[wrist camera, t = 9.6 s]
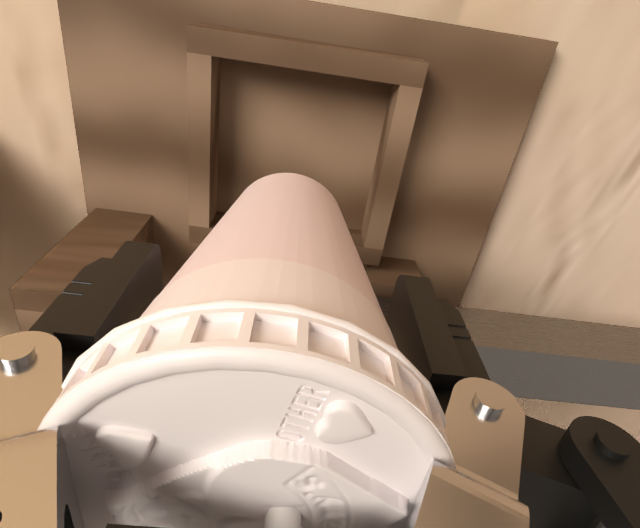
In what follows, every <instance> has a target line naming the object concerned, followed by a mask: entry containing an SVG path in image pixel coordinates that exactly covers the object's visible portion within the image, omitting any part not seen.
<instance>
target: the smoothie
mask: <svg viewBox="0 0 640 528" xmlns="http://www.w3.org/2000/svg"><path fill="white" fill-rule="evenodd" d="M61 387H62V390H63V391H62V392H61V394H60V395H59V397H58V398H57V400H56V401H55V403H54V404H53V406H52V407H51V408H50V410H49V411H48V412H47V414H46V415H45V417H44V418H43V420H42V422H41V424H40V425H39V427H38V429H37V430H42V429H46V428H50V427H54V426H58V425H59V426H60V430H61V433H62V436H63V438H64V440H65V445H66V449H67V453H68V457H69V463H70V469H71V474H72V478H73V482H74V487H75V491H76V495H77V499H78V503H79V507H80V511H81V512H82V516H83V520H84V524H85V528H106V526H107V523H108V524H121V525H134V526H148V527H161V528H403V527H404V524H405V522H406V520H407V518H408V515H409V513H410V511H411V509H412V506H413V504H414V502H415V499H416V497H417V494H418V492H419V489H420V487H421V485H422V482H423V480H424V478H425V476H426V473H427V471H428V469H429V467H430V465H431V463H432V461H433V459H435V460H437V461H439V462H441V463H443V464H445V465H447V466H449V467H451V468H453V469H456V466H455V461H454V458H453V455H452V452H451V449H450V446H449V443H448V439H447V436H446V432H445V428H444V426H445V425H446V417H445V414H444V412H443V410H442V408H441V406H440V403H439V401H438V399H437V397H436V395H435V392H434V390H433V388H432V386H431V384H430V382H429V381H428V380H427V379H426V378H425V377H424V376H423V375H422V374H421V373H420V372H419V370H418V369H417V368H416V367H415V366H414V365H413V364H412V363H411V362H410V361H409V360H408V359H407V358H406V357H405V356H404V355H403V354H402V353H401V352H400V351H399V350H398V348H397V345H396V343H395V340H394V338H393V335H392V333H391V330H390V328H389V326H388V324H387V322H386V320H385V317H384V315H383V313H382V310H381V308H380V305H379V303H378V300H377V298H376V296H375V293H374V291H373V288H372V286H371V283H370V281H369V279H368V276H367V274H366V271H365V269H364V266H363V264H362V262H361V259H360V257H359V254H358V252H357V249H356V247H355V245H354V242H353V240H352V237H351V235H350V232H349V230H348V228H347V225H346V223H345V220H344V218H343V215H342V213H341V210H340V208H339V206H338V203H337V202H336V200H335V198H334V197H333V195H332V194H331V193H330V192H329V191H328V190H327V189H326V188H325V187H324V186H323V185H322V184H320V183H319V182H317V181H315V180H314V179H312V178H309V177H307V176H304V175H300V174H296V173H276V174H271V175H268V176H265V177H262V178H260V179H258V180H257V181H255V182H253V183H252V184H251V185H250V186H248V187H247V188H246V189H245V190H244V192H243V193H242V194H241V195H240V196H239V198H238V199H237V200H236V201H235V203H234V204H233V205H232V206H231V207H230V209H229V210H228V211H227V212H226V214H225V215H224V216H223V217H222V218H221V220H220V221H219V222H218V223H217V224H216V226H215V227H214V228H213V229H212V231H211V232H210V233H209V234H208V235H207V237H206V238H205V239H204V240H203V242H202V243H201V244H200V245H199V246H198V248H197V249H196V250H195V251H194V253H193V254H192V255H191V256H190V257H189V259H188V260H187V261H186V262H185V263H184V265H183V266H182V267H181V268H180V270H179V271H178V272H177V273H176V274H175V276H174V277H173V278H172V279H171V281H170V282H169V283H168V284H167V285H166V287H165V288H164V289H163V290H162V291H161V293H160V294H159V295H158V296H157V297H156V298H155V299H154V300H153V301H152V303H151V304H150V305H149V306H148V308H147V309H146V310H145V311H144V313H143V314H142V315H141V317H140V318H138V319H136V320H133V321H131V322H128V323H126V324H123V325H121V326H118V327H116V328H114V329H113V330H111V331H110V332H109V333H108V334H106V335H105V336H104V337H103V338H101V339H100V340H99V341H98V342H96V343H95V344H94V345H93V346H91V347H90V348H89V349H88V350H86V351H85V352H84V353H83V354H82V355H80V356H79V357H78V358H77V359H76V361H75V363H74V364H73V366H72V368H71V370H70V371H69V373H68V375H67V377H66V378H65V380H64V382H63V384H62V386H61Z"/></svg>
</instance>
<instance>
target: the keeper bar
mask: <svg viewBox="0 0 640 528" xmlns="http://www.w3.org/2000/svg"><path fill="white" fill-rule="evenodd" d="M376 298H377V300H378V303H379V305H380V308H381V310H382V313H383V315H384V317H385V320H386V316H387V313H388V309H389V305H390V302H391V299H387V298H378V297H376ZM454 307H455V306H454ZM455 308H456V309H457V310H458V311H459V312H460V314H461V316H462V318H463V320H464V322H465V325H466V329H468V331H469V333H470V336H471V341H473V342H474V345H475V347H476V349H477V351H478V353H479V356H480V358H481V360H482V362H483V365H484V367H485V369H486V371H487V373H488V376H489V378H490V380H491V381H492V382H494V383H497V384H499V385H500V386H502V387H504V388H505V389H506V390H508V391H509V392H510V393H511V394H512V395H514V396H515V397H521V398H530V399H540V400H550V401H559V402H569V403H579V404H588V405H598V406H608V407H617V408H627V409H637V410H640V328H633V327H625V326H616V325H608V324H599V323H591V322H582V321H574V320H565V319H557V318H548V317H540V316H531V315H523V314H514V313H506V312H497V311H489V310H480V309H472V308H463V307H455Z"/></svg>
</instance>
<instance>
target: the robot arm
mask: <svg viewBox="0 0 640 528" xmlns="http://www.w3.org/2000/svg"><path fill="white" fill-rule="evenodd" d="M162 290H163V284H162V263H161V250H160V246H159V245H158V244H152V243H144V242H136V241H126V242H125V243H124V244H123V245H122V246H121V247H120V249H119V250H118V251H117V252H116V254H115V255H114V256H113V257H112V258H103V257H102V258H100V259H98V260H96V261H94V262H92V263H91V264H89V265H87V266H85V267H83V268H82V270H81V271H80V272H79V273H78V274H77V275H76V276H75V278H74V279H73V280H72V283H69V284H68V286H67V287H66V288H65V289H64V290H63V293H62V294H60V295H59V296H58V297H57V298H56V299H55V300H54V302H53V303H52V304H51V305H50V306H49V307H48V308H47V309H46V311H45V312H44V313H43V314H42V315H41V316H40V317H39V319H38V320H37V321H36V322H35V323H34V324H33V325H32V327H31V328H30V329H29V330H28V331H23V332H17V333H12V334H9V335H5V336H2V337H0V528H85V524H84V520H83V516H82V512H81V511H80V507H79V503H78V499H77V495H76V491H75V487H74V482H73V478H72V474H71V469H70V463H69V457H68V453H67V449H66V445H65V440H64V438H63V436H62V433H61V430H60V426H59V425H58V426H54V427H50V428H46V429H42V430H37V429H38V427H39V425H40V424H41V422H42V420H43V418H44V417H45V415H46V414H47V412H48V411H49V410H50V408H51V407H52V406H53V404H54V403H55V401H56V400H57V398H58V397H59V395H60V394H61V392H62V391H63V390H62V387H61V386H62V384H63V382H64V380H65V378H66V377H67V375H68V373H69V371H70V370H71V368H72V366H73V364H74V363H75V361H76V359H77V358H78V357H79V356H80V355H82V354H83V353H84V352H85V351H86V350H88V349H89V348H90V347H91V346H93V345H94V344H95V343H96V342H98V341H99V340H100V339H101V338H103V337H104V336H105V335H106V334H108V333H109V332H110V331H111V330H113V329H114V328H116V327H118V326H121V325H123V324H126V323H128V322H131V321H133V320H136V319H138V318H140V317H141V315H142V314H143V313H144V311H145V310H146V309H147V308H148V306H149V305H150V304H151V303H152V301H153V300H154V299H155V298H156V297H157V296H158V295H159V294H160V293H161V291H162ZM386 322H387V324H388V326H389V328H390V330H391V333H392V335H393V338H394V340H395V343H396V345H397V348H398V350H399V351H400V352H401V353H402V354H403V355H404V356H405V357H406V358H407V359H408V360H409V361H410V362H411V363H412V364H413V365H414V366H415V367H416V368H417V369H418V370H419V372H420V373H421V374H422V375H423V376H424V377H425V378H426V379H427V380H428V381H429V382H430V384H431V386H432V388H433V390H434V392H435V395H436V397H437V399H438V401H439V403H440V406H441V408H442V410H443V412H444V414H445V417H446V425H445V426H444V428H445V432H446V436H447V439H448V443H449V446H450V449H451V452H452V455H453V458H454V461H455V466H456V469H453V468H451V467H449V466H447V465H445V464H443V463H441V462H439V461H437V460H435V459H433V461H432V463H431V465H430V467H429V469H428V471H427V473H426V476H425V478H424V480H423V482H422V485H421V487H420V489H419V492H418V494H417V497H416V499H415V502H414V504H413V506H412V509H411V511H410V513H409V515H408V518H407V520H406V522H405V524H404V527H403V528H640V443H639V442H638V441H637V440H636V439H635V438H633V437H632V436H631V435H630V434H629V433H627V432H626V431H625V430H623V429H621V428H620V427H618V426H616V425H615V424H613V423H611V422H608V421H606V420H603V419H600V418H597V417H592V416H582V417H578V418H576V419H575V420H573V421H572V423H571V424H570V426H569V427H568V429H567V430H564V429H562V428H559V427H556V426H553V425H550V424H548V423H545V422H542V421H539V420H536V419H534V418H531V417H529V416H527V415H525V413H524V410H523V408H522V406H521V404H520V403H519V401H518V400H517V399H516V398H515V396H514V395H512V394H511V393H510V392H509V391H508V390H506V389H505V388H504V387H502V386H500V385H499V384H497V383H494V382H492V381H491V380H490V378H489V376H488V373H487V371H486V369H485V367H484V365H483V362H482V360H481V358H480V356H479V353H478V351H477V349H476V347H475V345H474V342H473V341H471V336H470V333H469V331H468V329H466V325H465V322H464V320H463V318H462V316H461V314H460V312H459V311H458V310H457V309H456V308H455V307H454V306H453V305H452V304H451V303H450V302H449V301H448V300H447V299H443V298H437V296H436V294H435V291H434V289H433V286H432V283H431V281H430V279H429V278H426V277H418V276H410V275H399V276H398V278H397V281H396V284H395V287H394V291H393V295H392V298H391V302H390V305H389V309H388V313H387V316H386ZM106 528H161V527H148V526H134V525H121V524H108V523H107V526H106Z"/></svg>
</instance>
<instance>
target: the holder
mask: <svg viewBox="0 0 640 528" xmlns="http://www.w3.org/2000/svg"><path fill="white" fill-rule="evenodd" d="M57 2H58V9H59V16H60V23H61V30H62V37H63V44H64V51H65V58H66V65H67V72H68V79H69V86H70V93H71V101H72V108H73V115H74V122H75V129H76V136H77V143H78V150H79V157H80V164H81V171H82V178H83V185H84V192H85V199H86V206H87V213H88V216H87V217H86V218H85V219H83V220H82V221H81V222H80V223H79V224H78V225H77V226H76V227H75V228H74V229H73V230H72V231H71V232H70V233H68V234H67V235H66V236H65V237H64V238H63V239H62V240H61V241H60V242H59V243H58V244H57V245H56V246H55V247H53V248H52V249H51V250H50V251H49V252H48V253H47V254H46V255H45V256H44V257H43V258H42V259H41V260H40V261H38V262H37V263H36V264H35V265H34V266H33V267H32V268H31V269H30V270H29V271H28V272H27V273H26V274H25V275H23V276H22V277H21V278H20V279H19V280H18V281H17V282H16V283H15V284H14V285H13V286H12V287H11V288H10V289H9V290H10V294H11V297H12V301H13V305H14V309H15V312H16V316H17V320H18V324H19V327H20V331H21V332H23V331H28V330H29V329H30V328H31V327H32V325H33V324H34V323H35V322H36V321H37V320H38V319H39V317H40V316H41V315H42V314H43V313H44V312H45V311H46V309H47V308H48V307H49V306H50V305H51V304H52V303H53V302H54V300H55V299H56V298H57V297H58V296H59V295H60V294H62V293H63V290H64V289H65V288H66V287H67V286H68V284H69V283H72V280H73V279H74V278H75V276H76V275H77V274H78V273H79V272H80V271H81V270H82V268H83V267H85V266H87V265H89V264H91V263H92V262H94V261H96V260H98V259H100V258H102V257H103V258H112V257H113V256H114V255H115V254H116V252H117V251H118V250H119V249H120V247H121V246H122V245H123V244H124V243H125V242H126V241H136V242H144V243H152V244H158V245H159V246H160V250H161V263H162V284H163V289H164V288H165V287H166V285H167V284H168V283H169V282H170V281H171V279H172V278H173V277H174V276H175V274H176V273H177V272H178V271H179V270H180V268H181V267H182V266H183V265H184V263H185V262H186V261H187V260H188V259H189V257H190V256H191V255H192V254H193V253H194V251H195V250H196V249H197V248H198V246H199V245H200V244H201V243H202V242H203V240H204V239H205V238H206V237H207V235H208V234H209V233H210V232H211V231H212V229H213V228H214V227H215V226H216V224H217V223H218V222H219V221H220V220H221V218H222V217H223V216H224V215H225V214H226V212H227V211H228V210H229V209H230V207H231V206H232V205H233V204H234V203H235V201H236V200H237V199H238V198H239V196H240V195H241V194H242V193H243V192H244V190H245V189H246V188H247V187H248V186H250V185H251V184H252V183H253V182H255V181H257V180H258V179H260V178H262V177H265V176H268V175H271V174H276V173H296V174H300V175H304V176H307V177H309V178H312V179H314V180H315V181H317V182H319V183H320V184H322V185H323V186H324V187H325V188H326V189H327V190H328V191H329V192H330V193H331V194H332V195H333V197H334V198H335V200H336V202H337V203H338V206H339V208H340V210H341V213H342V215H343V218H344V220H345V223H346V225H347V228H348V230H349V232H350V235H351V237H352V240H353V242H354V245H355V247H356V249H357V252H358V254H359V257H360V259H361V262H362V264H363V266H364V269H365V271H366V274H367V276H368V279H369V281H370V283H371V286H372V288H373V291H374V293H375V296H376V297H378V298H387V299H391V298H392V295H393V291H394V287H395V284H396V281H397V278H398V276H399V275H410V276H418V277H426V278H429V279H430V281H431V283H432V286H433V289H434V291H435V294H436V296H437V298H443V299H447V300H448V301H449V302H450V303H451V304H452V305H453V306H455V307H458V306H459V304H460V301H461V298H462V296H463V293H464V291H465V288H466V285H467V283H468V280H469V277H470V275H471V272H472V269H473V267H474V264H475V261H476V259H477V256H478V254H479V251H480V248H481V246H482V243H483V240H484V238H485V235H486V232H487V230H488V227H489V225H490V222H491V219H492V217H493V214H494V211H495V209H496V206H497V203H498V201H499V198H500V195H501V193H502V190H503V188H504V185H505V182H506V180H507V177H508V174H509V172H510V169H511V166H512V164H513V161H514V158H515V156H516V153H517V151H518V148H519V145H520V143H521V140H522V137H523V135H524V132H525V129H526V127H527V124H528V121H529V119H530V116H531V114H532V111H533V108H534V106H535V103H536V100H537V98H538V95H539V92H540V90H541V87H542V84H543V82H544V79H545V77H546V74H547V71H548V69H549V66H550V63H551V61H552V58H553V55H554V53H555V50H556V47H557V45H558V42H554V41H549V40H543V39H537V38H531V37H525V36H519V35H513V34H507V33H501V32H495V31H489V30H483V29H477V28H471V27H465V26H459V25H453V24H447V23H441V22H435V21H429V20H423V19H416V18H410V17H404V16H398V15H392V14H386V13H380V12H374V11H368V10H362V9H356V8H350V7H344V6H338V5H332V4H326V3H320V2H314V1H308V0H57Z"/></svg>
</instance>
